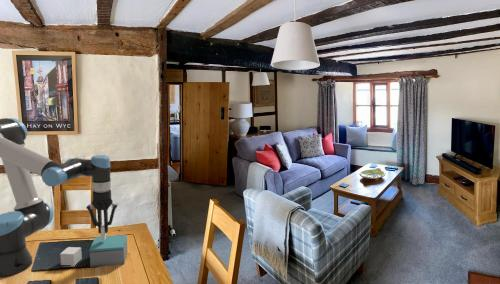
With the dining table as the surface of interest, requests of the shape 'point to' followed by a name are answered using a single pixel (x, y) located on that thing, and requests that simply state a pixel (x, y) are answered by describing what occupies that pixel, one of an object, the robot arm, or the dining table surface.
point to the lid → (108, 243)
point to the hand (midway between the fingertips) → (103, 239)
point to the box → (108, 257)
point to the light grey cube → (71, 256)
